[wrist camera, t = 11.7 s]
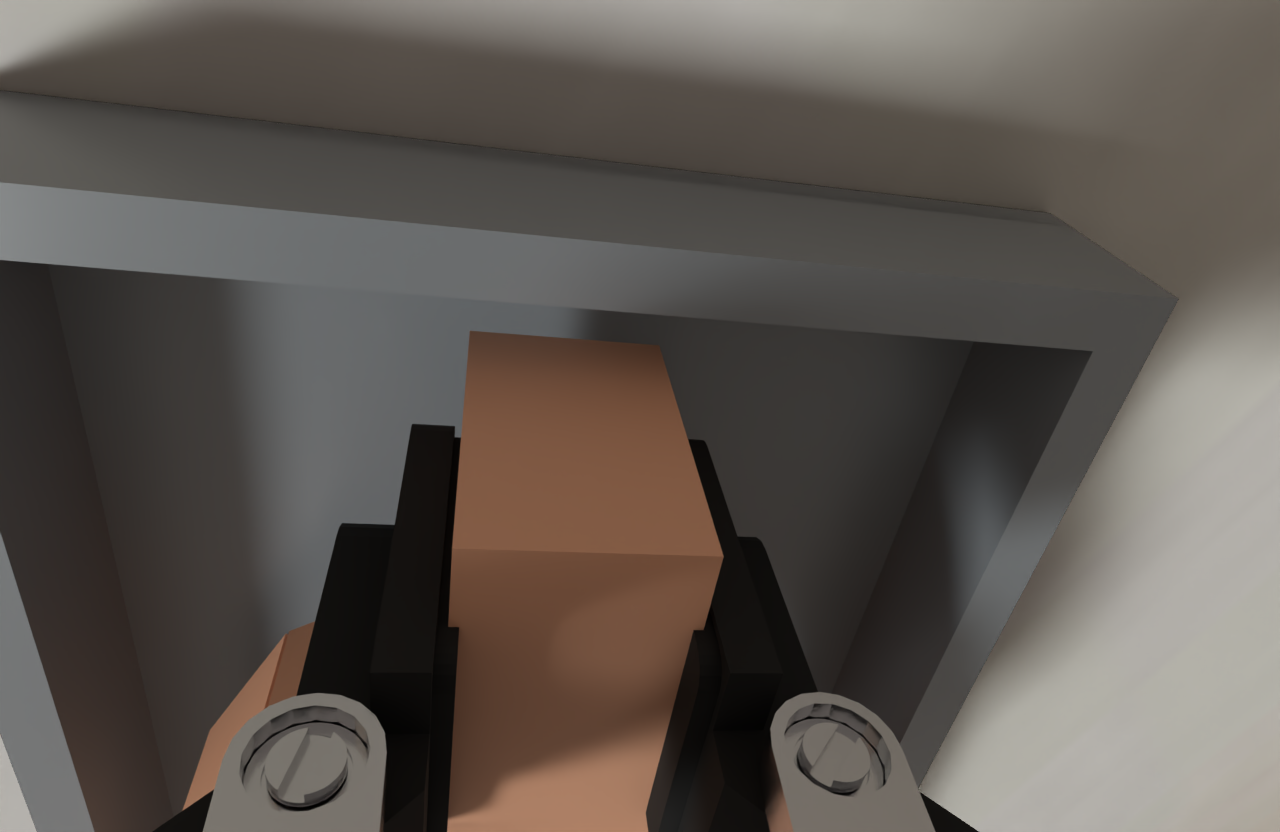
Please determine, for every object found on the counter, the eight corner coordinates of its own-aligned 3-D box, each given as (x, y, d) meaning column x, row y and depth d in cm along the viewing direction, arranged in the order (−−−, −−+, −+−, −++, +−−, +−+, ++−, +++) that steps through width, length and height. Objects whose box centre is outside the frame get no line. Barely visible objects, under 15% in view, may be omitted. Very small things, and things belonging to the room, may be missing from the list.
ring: (929, 366, 12) (1093, 566, 8) (722, 909, 19) (766, 1130, 16) (134, 304, 10) (-57, 533, 7) (244, 934, 17) (181, 1191, 14)
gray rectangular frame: (1050, 213, 13) (1178, 298, 10) (767, 885, 23) (798, 1012, 20) (-40, 86, 10) (-216, 160, 8) (171, 913, 20) (124, 1064, 18)
